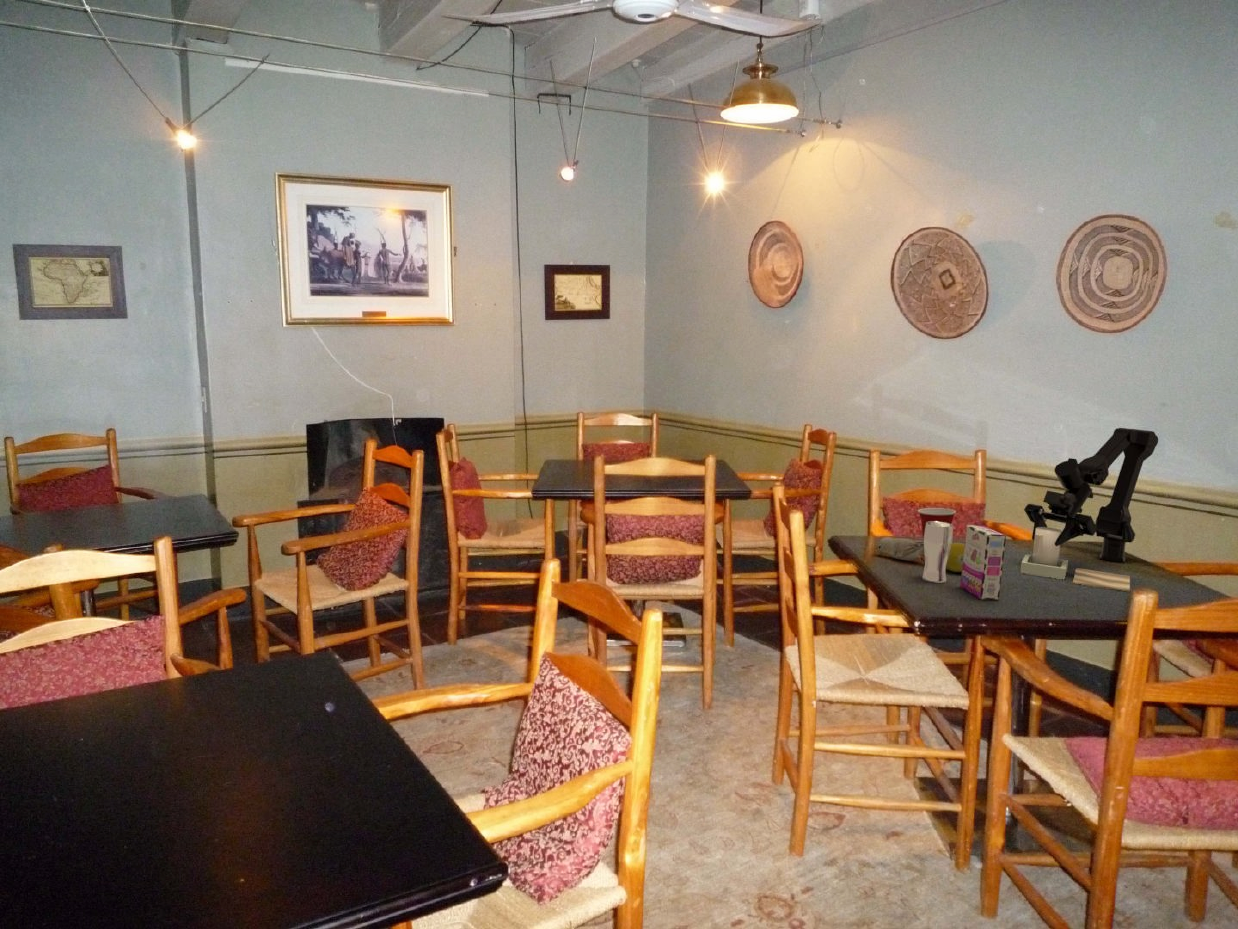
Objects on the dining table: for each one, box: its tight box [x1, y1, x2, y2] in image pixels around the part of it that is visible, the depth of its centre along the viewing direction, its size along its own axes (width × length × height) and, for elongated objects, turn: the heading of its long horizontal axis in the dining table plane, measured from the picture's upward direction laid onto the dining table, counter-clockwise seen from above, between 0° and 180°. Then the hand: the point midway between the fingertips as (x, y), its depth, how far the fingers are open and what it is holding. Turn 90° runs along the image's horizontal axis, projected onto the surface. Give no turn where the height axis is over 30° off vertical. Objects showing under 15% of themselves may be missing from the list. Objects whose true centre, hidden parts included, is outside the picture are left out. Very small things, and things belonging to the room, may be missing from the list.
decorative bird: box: [876, 536, 925, 567], centre depth 245 cm, size 5×16×8 cm, turn 47°
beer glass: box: [921, 521, 954, 584], centre depth 226 cm, size 7×7×15 cm
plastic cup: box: [917, 507, 957, 540], centre depth 260 cm, size 11×11×12 cm
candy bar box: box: [960, 524, 1007, 601], centre depth 215 cm, size 11×5×16 cm, turn 5°
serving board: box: [1072, 567, 1131, 593], centre depth 232 cm, size 16×13×1 cm
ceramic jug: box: [1032, 526, 1063, 567], centre depth 237 cm, size 8×6×10 cm
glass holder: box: [1020, 554, 1069, 581], centre depth 238 cm, size 11×11×3 cm
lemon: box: [946, 542, 965, 573], centre depth 235 cm, size 11×8×8 cm
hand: (1044, 542), depth 236 cm, fingers closed on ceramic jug, 6 cm apart
